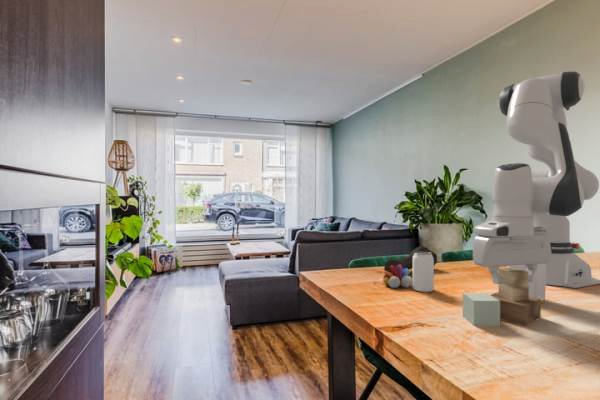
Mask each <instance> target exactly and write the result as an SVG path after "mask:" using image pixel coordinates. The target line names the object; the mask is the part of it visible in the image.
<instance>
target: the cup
mask: <svg viewBox="0 0 600 400" xmlns="http://www.w3.org/2000/svg"><path fill="white" fill-rule="evenodd" d="M506 268H516V269H520V270H524V271H526V269H527V267H526V266H525V265H511V266H506ZM546 288H547V284H546V264H537V269H536V271H535V273H534V275H533V281H532V282H529V297H534V298H538V299H541V304H544V303H546Z"/></svg>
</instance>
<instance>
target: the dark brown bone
mask: <svg viewBox="0 0 600 400" xmlns="http://www.w3.org/2000/svg"><path fill="white" fill-rule="evenodd" d="M414 252H430V253H432V256H433V258H434V266H435V265H436V264H437V262H438V256H437V254H436V253H435V252H434V251H432V250H431V249H430V248H428V247H426V246H418V247H416V248H415V249H413V250H411V252H409V255H408V256H406V257H405V258H390V259H389V260H386V261H385V262H384V266H383V267H384V269H383V270H384V271H387V272H390V273H392V272H391V269H390V266H391V265H393V266H394V267H395V269H396V267H397V265H402V267H403V269H405V268H407V269H409V270H411V269H412V270H413V255H414Z"/></svg>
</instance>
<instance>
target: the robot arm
mask: <svg viewBox="0 0 600 400" xmlns="http://www.w3.org/2000/svg"><path fill="white" fill-rule="evenodd" d="M584 92H585V82H584V79H583V78H582V77H581V74H580V73H578V72H577V71H563V72H562V73H553V74H547V75H542V76H537V77H534V78H533V77H532V78H527V79H524V80H523V81H521V82H518V83H513V84H510V85H508V86H506V87H504V88H503V89H502V90H501V92H500V93H499V98H498V108H499V109H500V113H501V114H503V115H504V116H506V132H507V133H508V134H509V136H510V137H511V138H512V139H513V140H515V141H517V142H519V143H521V144H524V145H526V146H527V153H528V156H529V157H530V158H531V159H532V160H535V161H537V162H540V163H544V164H545V165H546V166H547V167H548V168H549V170H537V171H532V167H531V165H530V164H527V163H521V162H519V163H517V162H516V163H508V164H502V165H499V166H497V167H496V168H495V169H494V174H493V180H492V190H491V192H492V193H491V195H492V197H491V199H492V203H493V211H492V216H491V217H492V219H489V220H488V221H486V222H483V223H481V224H478V225H476V226H475V227H474V228H473V229H474V231H473V232H474V234H475V235H476V236H475V238H474V239H473V242H472V243H473V245H472V261H473V262H474V263H475V265H477V266H480V267H483V268H487V269H488V271H489V273H490V275H491V277H492V283H493V284H496V285H499V284H502V283H503V281H502V280H503V277H501V276H499V269H500V267H507V266H511V265H525V266H526V267H527V269H526V271H528V272H529V282H532V281H533V275H534V273H535V271H536V269H537V264H546V285H549V286H558V287H566V288H574V289H578V288H582V287H583V288H584V287H590V286H593V285H600V279H598V278H595V277H592V268H591V265H590V264H589V263H587V262H586V261H585V260H583V259H582V258H581V257H580V256H578V254H576V253H575V250H574V249H576V250H579V249H580V248H581V245H580V243H579V242H578V243H577V242H576V243H575V242H571V237H570V236H571V235H570V234H571V233H570V230H571V229H570V228H571V223H570V220H569V218H568V217H569V216H571V215H573V214H574V213H576V212H578V211H580V210H581V209H582V207H583V205H584V202H585V201H588V200H591V199H593V197H595V195H596V194H597V193H598V191H599V188H600V181H599V179H598V177H597V176H596V174H594V172H592V171H591V170H589V169H588V168H585V167H584V166H582V165H580V164H579V163H578V162H577V161H576V160H575V156H574V152H573V147H572V142H571V140H570V136H569V131H568V129H567V128H568V127H567V125H568V124H567V116H566V113H565V110H566V111H569V110H570V109H571V108H572V107H573V106H576V105H577V104H578V103H579V102H580V101H581V100H582V97H583V95H584Z"/></svg>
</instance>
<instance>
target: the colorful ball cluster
mask: <svg viewBox="0 0 600 400" xmlns="http://www.w3.org/2000/svg"><path fill="white" fill-rule="evenodd" d="M390 269H391V272H392V273H390V272H387V271H385V270H384V271H383V276H382V279H383V281H382V282H383V283H384V284H386V285H388V287H390V288H391V289H397V288H399V287H400V286H402V287H403V288H405V289H407V288H412V287H413V277H411V276H410V275H409V274H410V269H407V268H405V269H403V267H402V265H397V267H396V269H395V267H394V266H393V265H391V266H390Z"/></svg>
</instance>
